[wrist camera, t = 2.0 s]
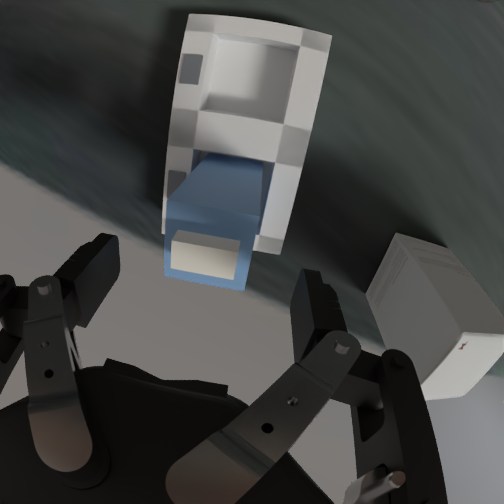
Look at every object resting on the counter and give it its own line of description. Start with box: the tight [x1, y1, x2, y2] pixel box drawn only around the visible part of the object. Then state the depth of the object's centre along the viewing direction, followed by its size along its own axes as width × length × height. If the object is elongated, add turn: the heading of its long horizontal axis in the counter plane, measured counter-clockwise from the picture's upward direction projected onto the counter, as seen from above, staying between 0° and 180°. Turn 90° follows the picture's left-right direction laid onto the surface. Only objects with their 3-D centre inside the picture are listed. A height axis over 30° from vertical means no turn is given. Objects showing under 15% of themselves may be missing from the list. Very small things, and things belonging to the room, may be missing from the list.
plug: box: [164, 153, 263, 291], centre depth 17 cm, size 4×4×11 cm
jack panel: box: [162, 14, 332, 255], centre depth 19 cm, size 16×9×3 cm, turn 170°
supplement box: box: [366, 233, 504, 400], centre depth 20 cm, size 7×7×13 cm
